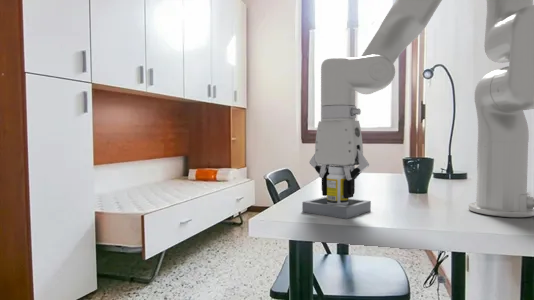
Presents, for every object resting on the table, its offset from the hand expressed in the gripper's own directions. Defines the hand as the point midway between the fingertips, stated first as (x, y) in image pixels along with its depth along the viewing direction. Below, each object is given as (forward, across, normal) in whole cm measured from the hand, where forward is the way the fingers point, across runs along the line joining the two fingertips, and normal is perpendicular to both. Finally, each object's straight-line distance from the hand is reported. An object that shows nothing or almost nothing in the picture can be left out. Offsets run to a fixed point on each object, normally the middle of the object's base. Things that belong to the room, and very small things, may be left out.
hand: (337, 195), depth 85 cm
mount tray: (+4, 0, 0) cm, 4 cm away
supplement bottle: (+2, 0, 0) cm, 2 cm away
